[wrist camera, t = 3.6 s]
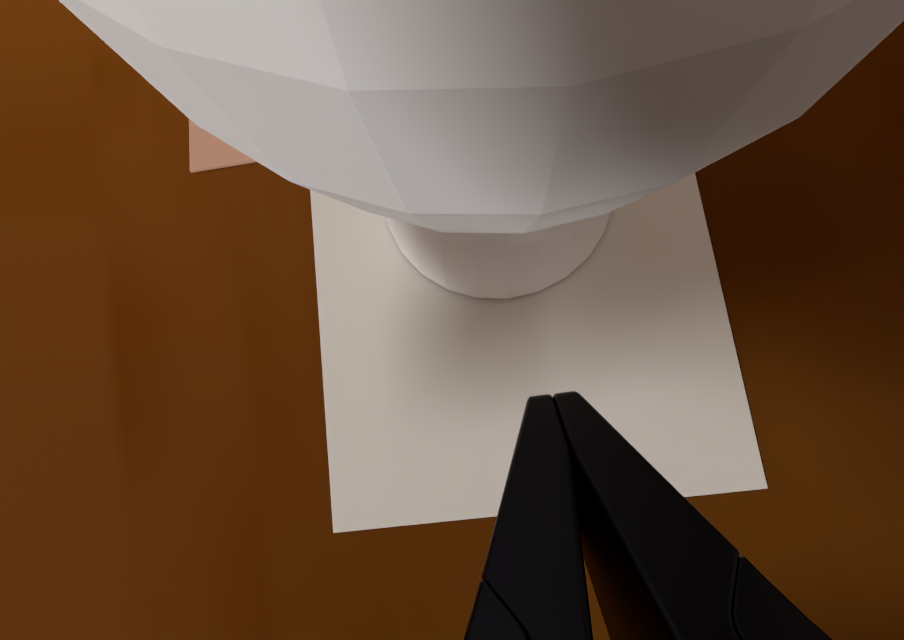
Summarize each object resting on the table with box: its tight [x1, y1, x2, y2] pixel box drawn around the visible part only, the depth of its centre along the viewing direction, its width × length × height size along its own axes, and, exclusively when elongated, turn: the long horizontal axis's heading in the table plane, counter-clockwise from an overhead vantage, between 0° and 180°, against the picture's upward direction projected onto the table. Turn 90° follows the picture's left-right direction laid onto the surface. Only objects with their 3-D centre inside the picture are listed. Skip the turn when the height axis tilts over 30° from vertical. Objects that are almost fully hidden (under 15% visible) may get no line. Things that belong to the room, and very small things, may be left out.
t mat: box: [189, 119, 767, 533], centre depth 16 cm, size 21×22×1 cm
